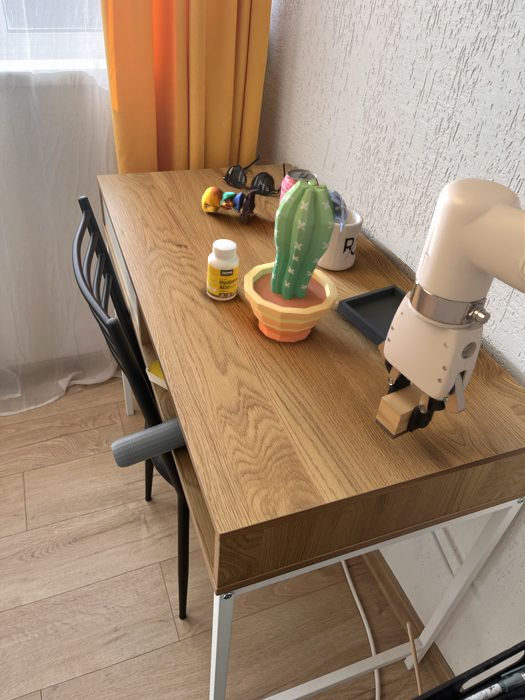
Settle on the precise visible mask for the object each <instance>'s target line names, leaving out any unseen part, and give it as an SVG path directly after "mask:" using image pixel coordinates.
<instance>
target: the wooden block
mask: <svg viewBox="0 0 525 700" xmlns="http://www.w3.org/2000/svg"><path fill="white" fill-rule="evenodd" d="M410 384H411V385H409V386H407V387H405V388H402V389H400V390H398V391H395V392H393V393H391V394H388V395H387V394H386V395H384V396H382V397H381V399H380V403H379V406H378V409H377V413H376V415H375V419H374V424H376V425H377V426H378V427H379V428H380V429H381V430H382V431H383V432H384V433H385V434H386V435H387V436H388V437H389V438H390V439H391V440H395V439H397V438H400V437H402V436H404V435H406V434H408V433H410V432H409V431H408V430H407V426H408V423H409V420H410V417H411V415H412V412H413V409H414V407H416V406H418V405H419V402H420V397H421V392H422V390H421V389H420V388H419V387H417V386H416V385H415V384H414V383H413V382H412V383H410ZM435 412H436V411H434V413H433V415H432V418H431V420H430V422H432V421H433V418H434V415H435Z"/></svg>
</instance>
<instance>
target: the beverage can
mask: <svg viewBox="0 0 525 700" xmlns="http://www.w3.org/2000/svg"><path fill="white" fill-rule="evenodd" d="M318 176H319V175H318V174H317V173H316V172H314V171H312V170H309V169H304V168H292V169H288V170H287V171H286V175H285V176H284V178H283V179H282V181H281V187H280V188H281V189H280V197H279V204H278V207H279V206H280V202H281V200H282V199H283V197H284V195H285V194H286V192H287V191H288V190H289V189H290V188H291V187H293V186H294V185H295V184H296V183H297V182H298V181H299V180H300V179H303V180H304V181H306V182H307V183H308V182H309V181H310V180H311V179H315V180H316V182H317V186H320V184H319V181H318Z"/></svg>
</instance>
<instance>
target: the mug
mask: <svg viewBox="0 0 525 700" xmlns="http://www.w3.org/2000/svg"><path fill="white" fill-rule="evenodd" d="M347 210H348V218H347V222H346V224H345V227H344V230H343V232H340V229H341V221H339V219H337V220H335V225H334V228H333V232H332V236H331V239H330V243H329V247H328V249H327V250H326V252H325V253H324V254H323V256H322V257H321V259H320V260H319V261H318V263H317V265H316V266H318V267H320V268H321V269H325V270H328V271H337V272H338V271H344V270H347V269H349V268H351V267H352V266H353V265H354V263H355V259H356V249H357V243H358V238H359V235H360V231H361V228H362V226H363V223H364V217H363V216H362V214H361V213H360V212H358V211H357V210H354V209H352V208H350V207H347Z"/></svg>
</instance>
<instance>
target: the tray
mask: <svg viewBox="0 0 525 700" xmlns="http://www.w3.org/2000/svg"><path fill="white" fill-rule="evenodd" d="M407 293H408V292H406V291H405V290H404V289H403V288H401V287H399V286H398V285H397V284H395V283H394V284H391V285H387V286H384V287H381V288H378V289H374V290H371V291H367V292H363V293H361V294H357V295H354V296H350V297H347V298H343V299H340V300H338V303H337V308H336V311H337V312H338V313H339V315H341V316H343V318H344V319H346V320H347V321H348V322H350V323H351V324H352V325H353V326H354V327H355V328H356V329H358V330H359V331H360V332H361V333H362V334H364V335H365V336H366V337H367V338H368V339H369V340H370V341H372V342H373V343H374V344H375V345H377V346H378V345H379V344H381V343H382V342H384V341H385V340H386V338H387V335H388V332H389V329H390V326H391V324H392V321H393V319H394V316H395V314H396V312H397V310H398V308H399V306H400V304H401V302H402V301H403V299H404V297H405V296H406V294H407Z"/></svg>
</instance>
